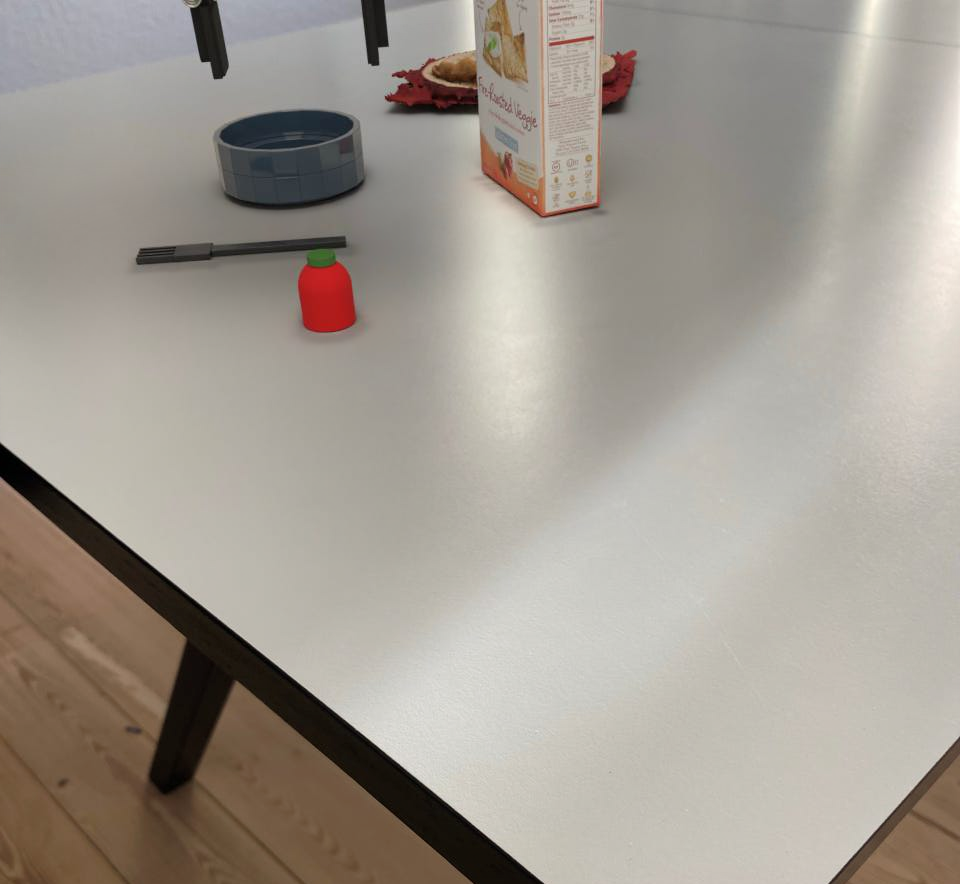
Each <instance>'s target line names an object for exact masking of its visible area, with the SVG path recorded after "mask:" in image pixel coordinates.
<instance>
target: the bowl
mask: <svg viewBox="0 0 960 884" xmlns="http://www.w3.org/2000/svg"><path fill="white" fill-rule="evenodd" d="M212 142H213V147H214V153H215V158H216V162H217V169H218V174H219V178H220V179H219V180H220V186H221V189H222V190H223V191H224V192H225V194H226V195H228V196H231V197H233V198H235V199H237V200H240V201H245V202H250V203H253V204H259V205H266V206H293V205H295V206H296V205H304V204H305V205H306V204H310V203H317V202H321V201H324V200H327V199H330V198H334V197H337V196H338V195H340V194H342V193H345V192H346V191H349V190H350V189H352V188H355V187H356V186H359V184H361V182H362V181H363V180H364V179H365V177H366V168H365V167H366V166H365V158H364V149H363V138H362V128H361V121H360V120H359V119H358V117H356V116H354V115H352V114H350V113H347V112H343V111H340V110H332V109H325V108H289V109H277V110H271V111H264V112H258V113H254V114H250V115H246V116H241V117H238V118H236V119H234V120H231V121H229V122H226V123H224V124H222V125H221V126H219V127H218V128H217V129H215V130H214V133H213V134H212Z"/></svg>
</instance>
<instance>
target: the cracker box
mask: <svg viewBox="0 0 960 884" xmlns="http://www.w3.org/2000/svg"><path fill="white" fill-rule="evenodd" d="M604 1H605V0H472V2H473V4H472V5H473V24H474V43H475V44H474V45H475V50H476V67H477V86H478V94H477V98H478V103H477V105H478V122H479V124H478V126H479V145H480V146H479V147H480V163H481V164H480V165H481V171H482V172H484V173H485V174H487V175H488V176H489V177H490V178H492V179H493V180H495V182H497V183H498V184H500V185H501V186H502V187H503V188H504V189H506V190H507V191H509V192H510V193H511V194H513V195H514V196H515V197H517V198H518V199H519V200H521V201H522V202H523V203H524V204H526V205H527V206H529V208H531V209H532V210H533V211H535V212H536V213H538V214H539V215H540V216H541V217H548V216H554V215H558V214H562V213H567V212H572V211H577V210H581V209H586V208H592V207H596V206H600V204H601V165H602V164H601V161H602V116H603V115H602V113H603V112H602V109H603V108H602V63H603V54H604V48H603V47H604V8H605V7H604V6H605V5H604V3H605V2H604Z"/></svg>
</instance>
